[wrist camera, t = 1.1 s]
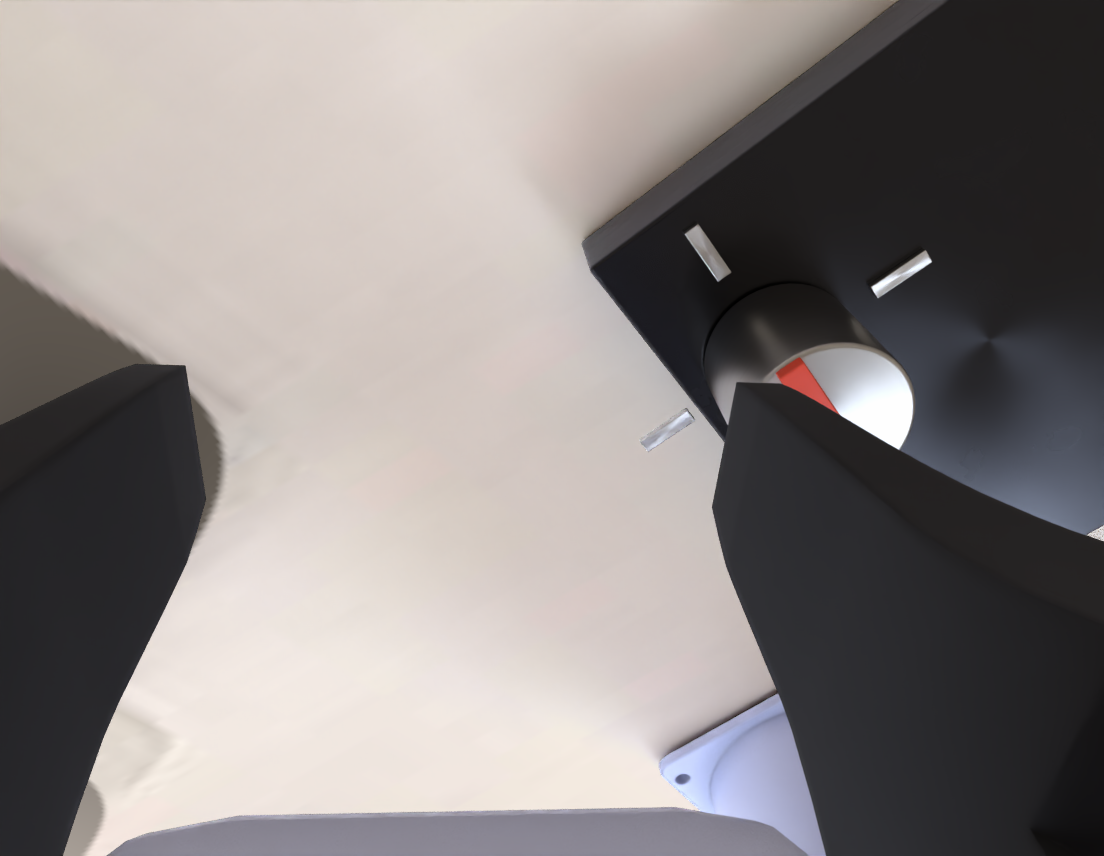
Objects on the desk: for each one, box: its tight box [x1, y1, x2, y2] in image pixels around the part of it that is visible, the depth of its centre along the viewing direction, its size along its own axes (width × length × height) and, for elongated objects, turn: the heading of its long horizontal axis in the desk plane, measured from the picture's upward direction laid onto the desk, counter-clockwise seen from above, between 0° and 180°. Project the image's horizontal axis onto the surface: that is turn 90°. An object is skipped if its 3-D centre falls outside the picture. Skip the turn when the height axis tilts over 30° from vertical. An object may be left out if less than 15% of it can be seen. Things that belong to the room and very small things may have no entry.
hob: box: [582, 0, 1104, 535], centre depth 22 cm, size 15×15×2 cm
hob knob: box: [704, 283, 915, 450], centre depth 19 cm, size 4×4×4 cm
